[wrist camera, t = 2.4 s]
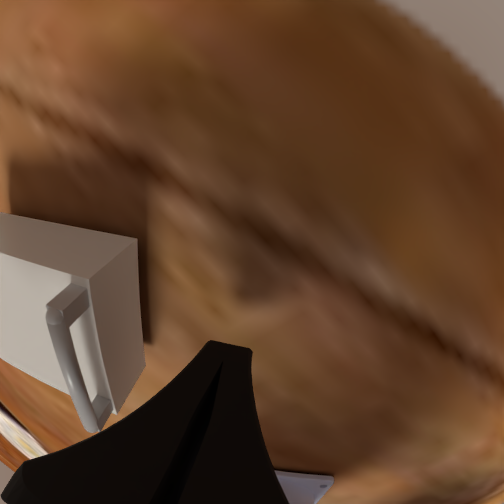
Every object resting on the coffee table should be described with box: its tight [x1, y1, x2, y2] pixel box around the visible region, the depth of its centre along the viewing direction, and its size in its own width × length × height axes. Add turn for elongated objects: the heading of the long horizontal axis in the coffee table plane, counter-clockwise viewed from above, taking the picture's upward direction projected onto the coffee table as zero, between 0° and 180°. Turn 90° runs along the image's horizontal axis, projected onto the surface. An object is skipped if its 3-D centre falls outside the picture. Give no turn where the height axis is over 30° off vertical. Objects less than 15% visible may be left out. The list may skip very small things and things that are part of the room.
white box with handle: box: [0, 212, 146, 433], centre depth 10 cm, size 6×8×5 cm
